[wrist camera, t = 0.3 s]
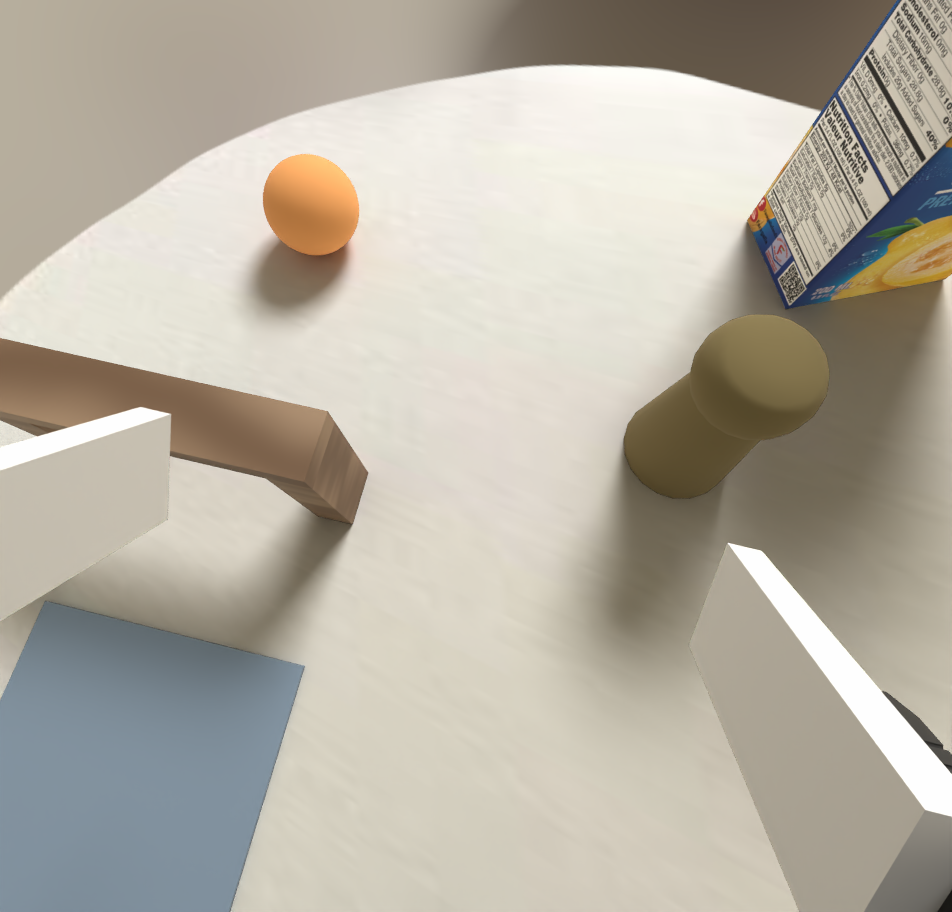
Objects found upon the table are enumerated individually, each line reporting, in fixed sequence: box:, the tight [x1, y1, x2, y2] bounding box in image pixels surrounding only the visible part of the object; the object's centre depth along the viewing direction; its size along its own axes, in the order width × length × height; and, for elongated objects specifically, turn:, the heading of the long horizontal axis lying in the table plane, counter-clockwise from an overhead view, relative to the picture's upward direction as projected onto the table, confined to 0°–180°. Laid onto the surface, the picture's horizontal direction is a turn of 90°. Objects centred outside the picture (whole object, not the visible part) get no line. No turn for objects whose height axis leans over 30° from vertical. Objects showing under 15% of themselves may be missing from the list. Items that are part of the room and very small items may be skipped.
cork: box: [624, 315, 830, 498], centre depth 26 cm, size 6×6×11 cm
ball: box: [263, 154, 359, 255], centre depth 33 cm, size 6×6×6 cm
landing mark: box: [0, 601, 305, 912], centre depth 26 cm, size 14×14×1 cm
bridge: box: [0, 338, 368, 524], centre depth 26 cm, size 3×14×9 cm, turn 77°
